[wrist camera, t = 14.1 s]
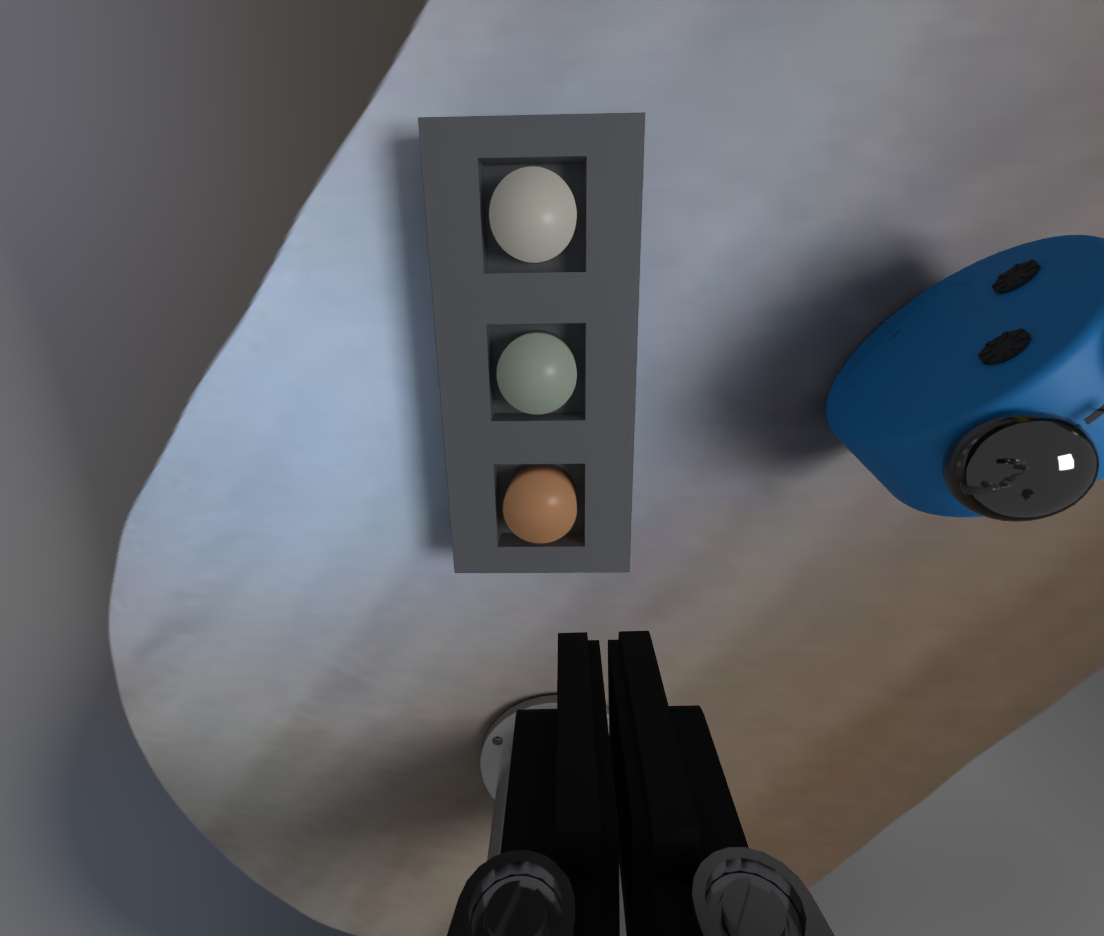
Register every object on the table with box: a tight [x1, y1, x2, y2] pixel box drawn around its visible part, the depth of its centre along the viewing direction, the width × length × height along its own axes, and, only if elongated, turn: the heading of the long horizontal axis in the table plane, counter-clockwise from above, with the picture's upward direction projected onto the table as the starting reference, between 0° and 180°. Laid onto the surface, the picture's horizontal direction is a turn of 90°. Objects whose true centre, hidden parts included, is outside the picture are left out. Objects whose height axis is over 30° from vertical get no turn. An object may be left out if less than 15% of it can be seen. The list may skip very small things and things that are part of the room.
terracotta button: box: [503, 464, 577, 543], centre depth 34 cm, size 4×4×2 cm
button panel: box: [418, 113, 645, 573], centre depth 33 cm, size 25×11×4 cm, turn 1°
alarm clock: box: [826, 235, 1104, 522], centre depth 27 cm, size 13×6×15 cm, turn 138°
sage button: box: [497, 330, 577, 415], centre depth 32 cm, size 4×4×2 cm
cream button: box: [489, 166, 577, 263], centre depth 29 cm, size 4×4×2 cm
